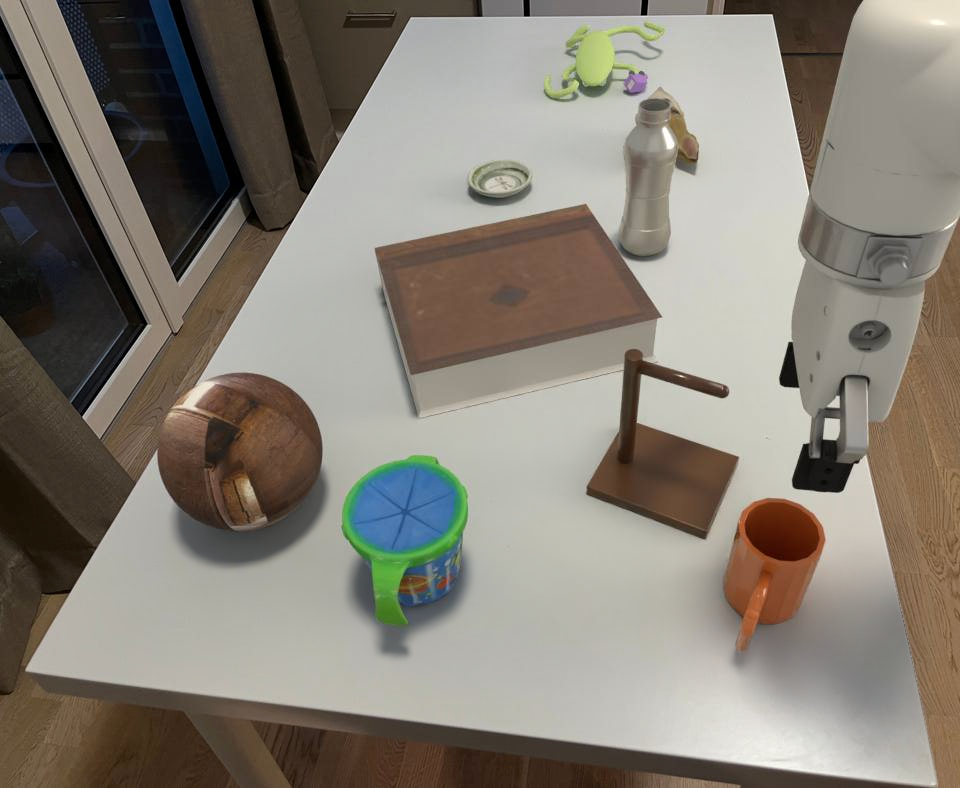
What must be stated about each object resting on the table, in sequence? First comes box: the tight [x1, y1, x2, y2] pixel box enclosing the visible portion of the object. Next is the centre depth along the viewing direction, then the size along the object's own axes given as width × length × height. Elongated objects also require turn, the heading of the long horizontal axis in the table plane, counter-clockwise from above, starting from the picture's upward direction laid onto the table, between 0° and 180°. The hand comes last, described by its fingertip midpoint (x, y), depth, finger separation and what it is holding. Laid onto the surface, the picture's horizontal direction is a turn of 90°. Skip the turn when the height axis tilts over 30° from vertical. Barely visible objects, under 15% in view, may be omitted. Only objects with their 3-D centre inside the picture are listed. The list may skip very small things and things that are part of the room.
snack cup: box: [341, 454, 469, 627], centre depth 70 cm, size 16×10×10 cm
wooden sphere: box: [156, 372, 324, 532], centre depth 76 cm, size 15×15×15 cm
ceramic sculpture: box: [634, 86, 700, 165], centre depth 121 cm, size 11×9×15 cm
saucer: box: [467, 158, 533, 199], centre depth 119 cm, size 10×10×2 cm
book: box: [374, 203, 663, 419], centre depth 95 cm, size 24×28×7 cm
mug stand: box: [586, 349, 740, 539], centre depth 73 cm, size 12×10×15 cm
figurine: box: [543, 20, 666, 99], centre depth 144 cm, size 18×27×6 cm
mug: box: [722, 497, 827, 653], centre depth 65 cm, size 11×6×9 cm, turn 150°
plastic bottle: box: [618, 98, 679, 257], centre depth 99 cm, size 6×7×20 cm
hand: (808, 433), depth 56 cm, fingers open, 9 cm apart
